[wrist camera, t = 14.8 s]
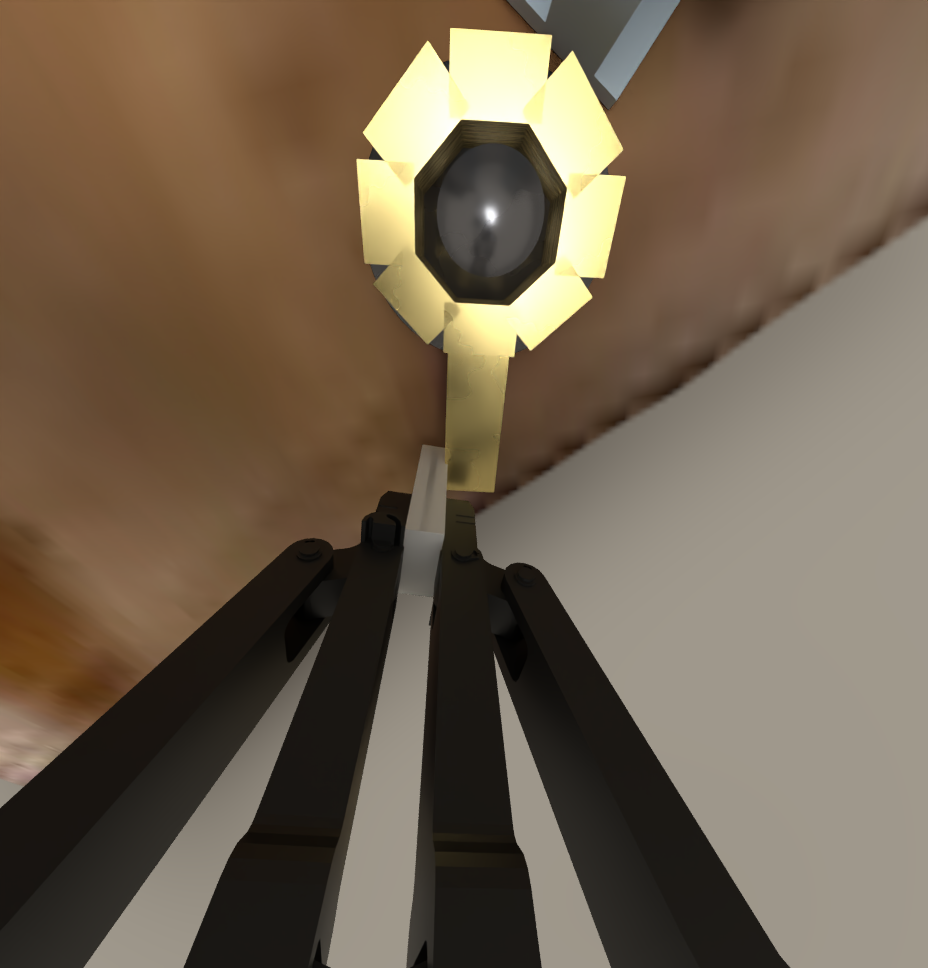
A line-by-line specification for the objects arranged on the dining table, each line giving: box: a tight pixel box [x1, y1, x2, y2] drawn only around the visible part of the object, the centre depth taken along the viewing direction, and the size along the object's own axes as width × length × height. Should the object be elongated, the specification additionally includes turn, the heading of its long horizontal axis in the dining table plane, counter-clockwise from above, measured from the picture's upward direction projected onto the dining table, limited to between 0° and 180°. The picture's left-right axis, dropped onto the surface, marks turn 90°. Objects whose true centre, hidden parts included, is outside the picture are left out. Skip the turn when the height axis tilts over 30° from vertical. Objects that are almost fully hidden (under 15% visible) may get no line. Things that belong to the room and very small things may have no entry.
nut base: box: [369, 60, 608, 353], centre depth 12 cm, size 9×9×6 cm
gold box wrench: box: [356, 28, 626, 492], centre depth 13 cm, size 13×8×3 cm, turn 177°
